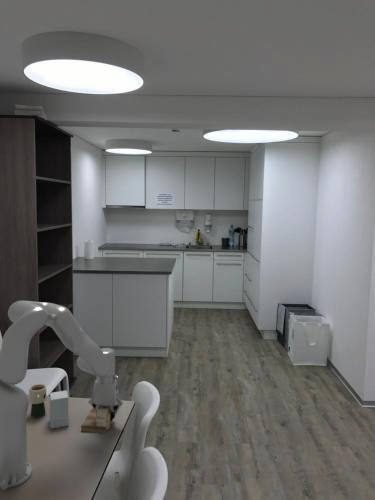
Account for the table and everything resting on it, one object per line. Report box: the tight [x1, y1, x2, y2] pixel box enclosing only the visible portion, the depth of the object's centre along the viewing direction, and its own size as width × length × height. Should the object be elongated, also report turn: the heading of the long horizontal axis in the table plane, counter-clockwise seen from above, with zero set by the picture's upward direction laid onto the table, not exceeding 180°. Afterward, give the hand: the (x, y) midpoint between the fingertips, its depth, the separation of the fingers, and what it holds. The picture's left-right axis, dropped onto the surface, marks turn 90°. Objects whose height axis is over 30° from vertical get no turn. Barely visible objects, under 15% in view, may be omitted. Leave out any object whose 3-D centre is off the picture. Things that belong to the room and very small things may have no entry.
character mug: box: [28, 383, 47, 418], centre depth 174 cm, size 11×7×13 cm, turn 23°
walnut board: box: [80, 402, 119, 434], centre depth 174 cm, size 24×10×3 cm, turn 175°
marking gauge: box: [96, 405, 115, 430], centre depth 167 cm, size 9×5×7 cm, turn 175°
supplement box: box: [49, 390, 69, 429], centre depth 168 cm, size 7×7×13 cm
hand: (105, 418), depth 167 cm, fingers closed on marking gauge, 5 cm apart
